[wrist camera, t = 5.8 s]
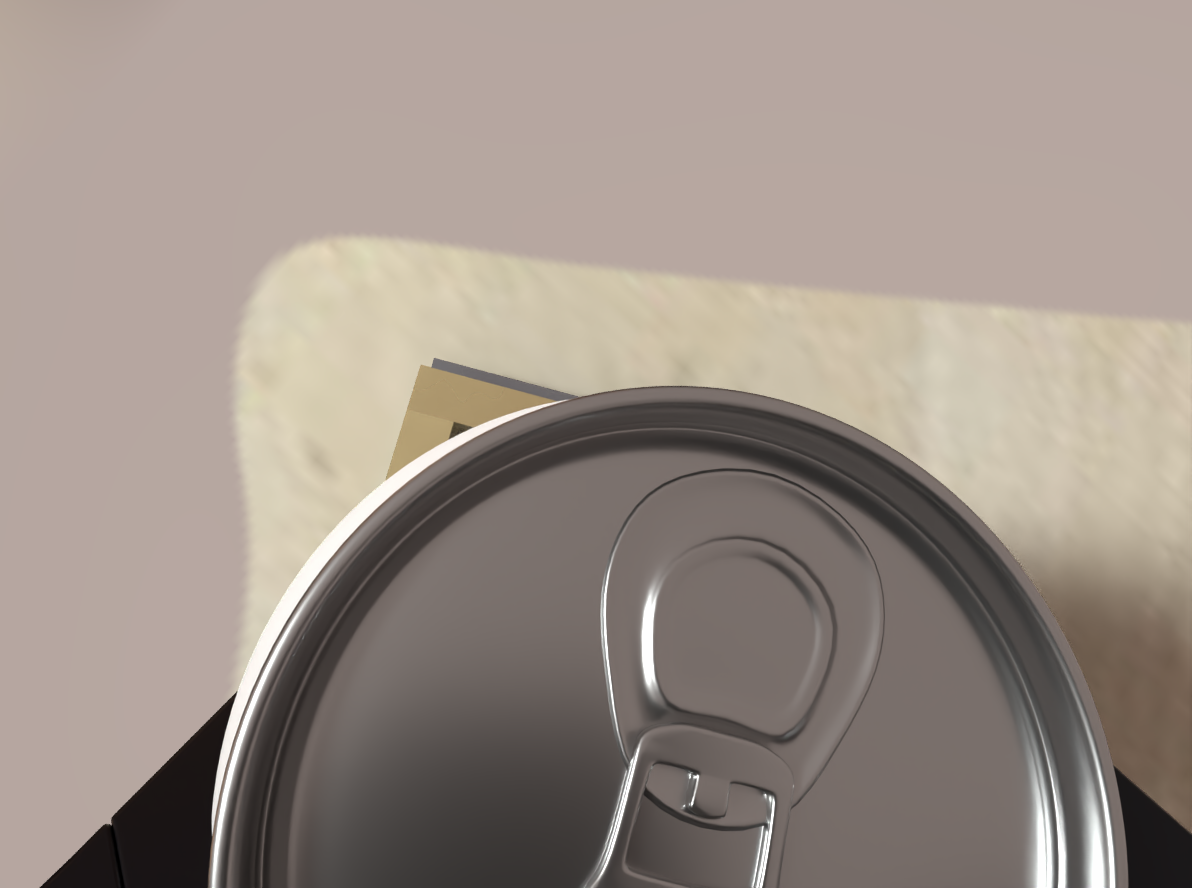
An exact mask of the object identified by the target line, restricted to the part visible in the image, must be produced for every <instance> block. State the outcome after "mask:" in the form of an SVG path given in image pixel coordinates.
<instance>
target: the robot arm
mask: <svg viewBox="0 0 1192 888" xmlns="http://www.w3.org/2000/svg"><path fill="white" fill-rule="evenodd" d="M237 692H238V691H237ZM237 692H236V693H235V694H234V695H233V696H232V697H231V698H230V699H229V700H228V701H227V702H226V703H225V704H224V705H223V706H222V707H221V708H220V709H219V710H218V711H217V712H216V713H215V714H214V715H213V716H212V717H211V718H210V719H209V720H208V721H207V722H206V723H205V724H204V725H203V726H202V727H201V728H200V729H199V730H198V731H197V732H196V733H195V734H194V735H193V736H192V737H191V738H190V740H188V741H187V742H186V743H185V744H184V745H183V746H182V747H181V748H180V749H179V750H178V751H177V752H176V753H175V754H174V755H173V756H172V757H171V758H170V759H169V760H168V761H167V762H166V763H165V764H164V765H163V766H162V767H161V769H160V770H158V771H157V772H156V773H155V774H154V776H152V777H151V778H150V780H148V781H147V782H146V783H145V784H144V785H143V786H142V787H141V788H140V790H138V791H137V793H135V794H134V795H133V796H132V797H131V798H130V799H129V800H128V801H127V802H126V803H125V804H124V805H123V806H122V807H121V808H120V809H119V810H118V811H117V813H115V814H114V816H113V817H112V819H111V823H112V826H111V825H110V824H105V825H103V826H102V827H101V828H100V829H99V830H98V831H97V832H96V833H95V834H94V835H93V836H92V837H91V838H90V839H89V840H88V841H87V842H86V843H85V844H84V845H83V846H82V847H81V848H80V849H79V850H78V851H77V852H76V853H75V854H74V855H73V856H72V857H71V858H70V859H69V860H68V861H67V862H66V863H65V864H64V865H63V866H62V867H61V868H60V869H59V870H58V871H57V872H56V873H54V875H52V876H51V877H50V878H49V879H48V880H47V881H46V882H45V883H44V884H43V885H42V886H41V887H40V888H208V872H209V861H210V850H211V842H212V807H213V797H214V789H215V782H216V775H217V769H218V764H219V759H220V754H221V749H222V745H223V740H224V736H225V732H226V728H227V724H228V721H229V717H230V714H231V711H232V707H233V704H234V701H235V698H236V695H237ZM1113 767H1114V771H1115V776H1116V780H1117V785H1118V791H1119V796H1120V801H1121V808H1122V814H1123V821H1124V829H1125V838H1126V848H1127V862H1128V883H1129V888H1192V834H1191V833H1190V832H1189V831H1188V830H1187V829H1186V828H1185V827H1183V826H1182V825H1181V824H1180V823H1179V822H1178V821H1177V820H1175V819H1174V818H1173V817H1172V816H1171V815H1170V814H1169V813H1167V812H1166V811H1165V810H1164V809H1163V808H1162V807H1161V806H1159V805H1158V804H1157V803H1156V802H1155V801H1154V800H1153V799H1151V798H1150V797H1149V796H1148V795H1147V794H1146V793H1145V792H1143V791H1142V790H1141V789H1140V788H1139V787H1138V786H1137V785H1135V784H1134V783H1133V782H1132V781H1131V780H1130V779H1129V778H1128V777H1126V776H1125V775H1124V774H1123V773H1122V772H1121V771H1120V770H1118V769H1117V768H1116V767H1115V766H1114V765H1113Z"/></svg>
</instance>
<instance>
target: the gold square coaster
mask: <svg viewBox="0 0 1192 888" xmlns="http://www.w3.org/2000/svg"><path fill="white" fill-rule="evenodd" d="M575 398H579V397H578V396H574V395H570V394H566V393H563V392H559V391H555V390H551V389H548V388H544V387H540V386H537V385H533V384H529V383H525V382H522V381H518V380H514V379H511V378H507V377H503V376H499V375H496V374H492V373H488V372H484V371H481V370H477V369H473V368H470V367H466V366H462V365H458V364H455V363H451V362H447V361H444V360H440V359H436V358H434V360H433V364H432V367H428V366H424V365H421V366H420V369H419V372H418V376H417V379H416V382H415V385H414V389H413V392H412V395H411V398H410V402H409V405H408V408H407V411H406V415H405V418H404V421H403V424H402V428H401V431H400V434H399V437H398V441H397V444H396V447H395V450H394V454H393V457H392V460H391V463H390V467H389V470H388V473H387V476H386V480H387V479H388V478H390V477H391V476H392V475H394V474H395V473H397V472H398V471H399V470H401V469H402V468H403V467H405V466H406V465H408V464H409V463H411V462H412V461H414V460H415V459H417V458H418V457H420V456H421V455H423V454H425V453H426V452H428V451H430V450H431V449H433V448H435V447H436V446H438V445H440V444H442V443H444V442H445V441H447V440H449V439H451V438H453V437H455V436H457V435H459V434H461V433H463V432H465V431H467V430H470V429H472V428H474V427H476V426H479V425H481V424H483V423H486V422H488V421H491V420H494V419H496V418H499V417H502V416H505V415H507V414H511V413H514V412H517V411H520V410H524V409H527V408H531V407H535V406H539V405H543V404H548V403H553V402H558V401H563V400H570V399H575ZM386 480H385V481H386Z"/></svg>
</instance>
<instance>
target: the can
mask: <svg viewBox="0 0 1192 888" xmlns="http://www.w3.org/2000/svg"><path fill="white" fill-rule="evenodd" d="M208 888H1129V883H1128V862H1127V848H1126V838H1125V829H1124V821H1123V814H1122V808H1121V801H1120V796H1119V791H1118V785H1117V780H1116V776H1115V771H1114V767H1113V762H1112V758H1111V755H1110V751H1109V747H1108V743H1107V740H1106V736H1105V733H1104V730H1103V727H1102V723H1101V720H1100V717H1099V714H1098V711H1097V709H1096V706H1095V703H1094V700H1093V697H1092V695H1091V692H1090V690H1089V687H1088V685H1087V682H1086V680H1085V677H1084V675H1083V673H1082V670H1081V668H1080V666H1079V664H1078V661H1077V659H1076V657H1075V655H1074V653H1073V651H1072V649H1071V647H1070V645H1069V643H1068V641H1067V639H1066V637H1065V635H1064V633H1063V631H1062V629H1061V628H1060V626H1059V624H1058V622H1057V620H1056V619H1055V617H1054V615H1053V614H1052V612H1051V610H1050V609H1049V607H1048V605H1047V604H1046V602H1045V600H1044V599H1043V597H1042V596H1041V594H1040V593H1039V591H1038V590H1037V588H1036V587H1035V585H1034V584H1033V582H1032V581H1031V579H1030V578H1029V577H1028V575H1027V574H1026V572H1025V571H1024V570H1023V568H1022V567H1021V565H1020V564H1019V563H1018V562H1017V560H1016V559H1015V558H1014V557H1013V555H1012V554H1011V553H1010V551H1009V550H1008V549H1007V548H1006V547H1005V545H1004V544H1003V543H1002V542H1001V541H1000V540H999V538H998V537H997V536H996V535H995V534H994V533H993V532H992V531H991V530H990V528H989V527H988V526H987V525H986V524H985V523H984V522H983V521H982V520H981V519H980V518H979V517H978V516H977V515H976V514H975V513H974V512H973V511H972V510H971V509H970V508H969V507H968V506H967V505H966V504H965V503H964V502H963V501H962V500H960V499H959V498H958V497H957V496H956V495H955V494H954V493H953V492H952V491H950V490H949V489H948V488H947V487H946V486H944V485H943V484H942V483H941V482H939V481H938V480H937V479H936V478H934V477H933V476H932V475H931V474H929V473H928V472H927V471H925V470H924V469H923V468H921V467H920V466H918V465H917V464H916V463H914V462H913V461H911V460H910V459H908V458H907V457H905V456H904V455H902V454H901V453H899V452H898V451H896V450H894V449H893V448H891V447H890V446H888V445H886V444H884V443H883V442H881V441H879V440H877V439H876V438H874V437H872V436H870V435H868V434H866V433H864V432H862V431H861V430H859V429H857V428H855V427H853V426H850V425H848V424H846V423H844V422H842V421H839V420H837V419H835V418H832V417H830V416H827V415H825V414H822V413H820V412H817V411H814V410H811V409H809V408H806V407H803V406H800V405H797V404H793V403H790V402H786V401H783V400H779V399H775V398H771V397H767V396H763V395H758V394H753V393H748V392H742V391H736V390H728V389H721V388H710V387H696V386H655V387H640V388H630V389H621V390H615V391H608V392H602V393H597V394H592V395H587V396H582V397H579V398H575V399H570V400H563V401H558V402H553V403H548V404H543V405H539V406H535V407H531V408H527V409H524V410H520V411H517V412H514V413H511V414H507V415H505V416H502V417H499V418H496V419H494V420H491V421H488V422H486V423H483V424H481V425H479V426H476V427H474V428H472V429H470V430H467V431H465V432H463V433H461V434H459V435H457V436H455V437H453V438H451V439H449V440H447V441H445V442H444V443H442V444H440V445H438V446H436V447H435V448H433V449H431V450H430V451H428V452H426V453H425V454H423V455H421V456H420V457H418V458H417V459H415V460H414V461H412V462H411V463H409V464H408V465H406V466H405V467H403V468H402V469H401V470H399V471H398V472H397V473H395V474H394V475H392V476H391V477H390V478H388V479H387V480H386V481H385V482H384V483H382V484H381V485H380V486H379V487H377V488H376V489H375V490H374V491H373V492H371V493H370V494H369V495H368V496H367V497H366V498H365V499H364V500H362V501H361V502H360V503H359V504H358V505H357V506H356V507H355V508H354V509H353V510H352V511H351V512H350V513H349V514H348V515H347V516H346V517H345V518H344V519H343V520H342V521H341V522H340V523H339V524H338V525H337V526H336V527H335V528H334V529H333V530H332V532H331V533H330V534H329V535H328V536H327V537H326V538H325V540H324V541H323V542H322V543H321V544H320V546H319V547H318V548H317V549H316V550H315V552H314V553H313V554H312V556H311V557H310V558H309V559H308V561H307V562H306V563H305V565H304V566H303V567H302V569H301V570H300V572H299V573H298V574H297V576H296V577H295V579H294V580H293V582H292V583H291V585H290V586H289V588H288V589H287V591H286V592H285V594H284V596H283V597H282V599H281V600H280V602H279V604H278V605H277V607H276V609H275V611H274V612H273V614H272V616H271V618H270V620H269V621H268V623H267V625H266V627H265V629H264V631H263V633H262V635H261V637H260V639H259V641H258V643H257V645H256V647H255V650H254V652H253V654H252V656H251V659H250V661H249V663H248V666H247V668H246V671H245V673H244V676H243V678H242V681H241V683H240V686H239V689H238V692H237V695H236V698H235V701H234V704H233V707H232V711H231V714H230V717H229V721H228V724H227V728H226V732H225V736H224V740H223V745H222V749H221V754H220V759H219V764H218V769H217V775H216V782H215V789H214V797H213V807H212V842H211V850H210V861H209V872H208Z"/></svg>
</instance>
